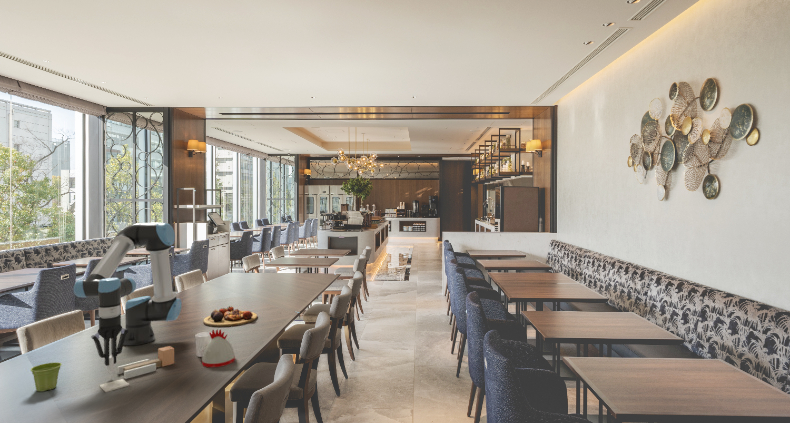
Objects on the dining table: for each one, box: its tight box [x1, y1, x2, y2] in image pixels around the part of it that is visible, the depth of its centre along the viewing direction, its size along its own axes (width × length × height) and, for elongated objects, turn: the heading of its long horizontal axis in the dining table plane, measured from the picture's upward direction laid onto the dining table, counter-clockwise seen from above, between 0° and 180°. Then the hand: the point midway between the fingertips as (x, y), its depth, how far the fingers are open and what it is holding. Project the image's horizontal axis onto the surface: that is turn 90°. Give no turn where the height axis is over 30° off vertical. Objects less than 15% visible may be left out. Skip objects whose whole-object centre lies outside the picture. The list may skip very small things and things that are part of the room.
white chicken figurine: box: [201, 328, 236, 368], centre depth 194 cm, size 14×14×15 cm
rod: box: [124, 358, 162, 371], centre depth 184 cm, size 3×14×3 cm, turn 139°
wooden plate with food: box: [202, 305, 258, 328], centre depth 265 cm, size 32×32×8 cm
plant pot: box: [30, 361, 63, 392], centre depth 165 cm, size 9×9×9 cm
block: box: [157, 345, 175, 367], centre depth 191 cm, size 5×5×7 cm
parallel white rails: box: [117, 358, 157, 380], centre depth 181 cm, size 9×12×3 cm
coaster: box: [99, 378, 130, 393], centre depth 167 cm, size 8×8×1 cm
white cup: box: [195, 331, 212, 358], centre depth 203 cm, size 8×8×10 cm
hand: (110, 372), depth 174 cm, fingers closed
